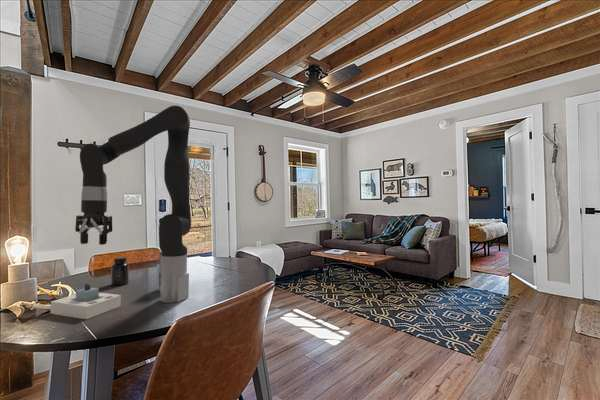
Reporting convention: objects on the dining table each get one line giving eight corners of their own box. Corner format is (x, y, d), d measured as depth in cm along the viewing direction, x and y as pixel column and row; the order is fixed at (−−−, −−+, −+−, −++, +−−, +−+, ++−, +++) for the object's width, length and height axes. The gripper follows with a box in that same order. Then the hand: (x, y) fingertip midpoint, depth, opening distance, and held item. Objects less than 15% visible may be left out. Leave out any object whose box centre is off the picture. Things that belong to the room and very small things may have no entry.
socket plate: (120, 306, 99) (120, 294, 99) (86, 319, 87) (87, 306, 87) (87, 301, 103) (87, 290, 103) (50, 313, 91) (50, 301, 91)
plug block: (98, 308, 96) (99, 282, 97) (85, 313, 92) (86, 286, 92) (88, 307, 98) (89, 281, 98) (75, 311, 93) (76, 285, 94)
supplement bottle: (132, 282, 130) (132, 256, 130) (121, 286, 123) (121, 259, 123) (118, 281, 130) (119, 256, 131) (107, 285, 123) (107, 259, 124)
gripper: (119, 199, 102) (118, 243, 101) (89, 199, 105) (88, 242, 105) (100, 199, 95) (99, 246, 94) (68, 199, 98) (67, 244, 98)
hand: (93, 244), depth 99 cm, fingers open, 8 cm apart
